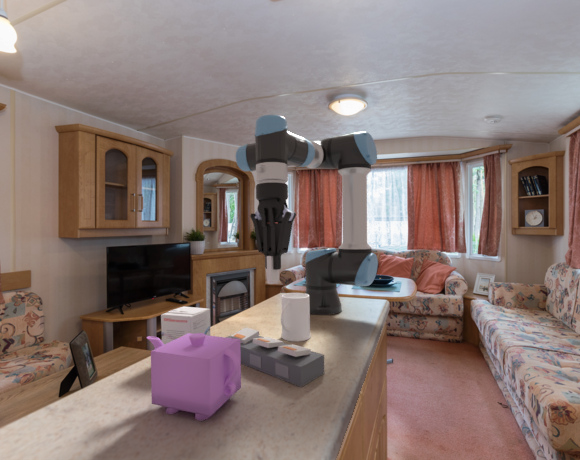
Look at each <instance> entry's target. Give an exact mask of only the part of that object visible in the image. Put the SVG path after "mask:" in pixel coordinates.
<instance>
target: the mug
mask: <svg viewBox="0 0 580 460" xmlns="http://www.w3.org/2000/svg"><path fill="white" fill-rule="evenodd" d="M310 315H311V314H310V303H309V294H306V293H305V292H287V293H284V294H281V314H280V324H281V338H282V339H283V340H284V341H288V342H304V341H307V340H309V339H310V338H311V336H312V334H311V318H310V317H311V316H310Z"/></svg>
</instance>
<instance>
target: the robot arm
mask: <svg viewBox="0 0 580 460" xmlns="http://www.w3.org/2000/svg"><path fill="white" fill-rule="evenodd" d="M288 128H289V126H288V122H287V119H286V117H284V116H282V115H278V114H265V115H262V116H259V117H258V118H257V119H256V120H255V132H254V133H255V134H254V137H255V138H254V139H255V140H254V141H255V142H254V143H247V144H245V145H241V146H239V147H238V148H237V149H236V151H235V162H236V165H237V167H238V168H239V169H240V170H241V171H243V172H255V181H256V186H255V198H256V200H257V201H258V206H257V211H255V212H254V213H250V219H251V221H252V223H253V227H254V228H253V229H254V233H255V235H254V236H255V239H256V246H257V250H258V251H257V252H258V253H261V254H263V255H264V264H265V265H264V267H265V269H266V284H268V285H274V284H279V283H280V270H281V269H282V255H284V254H287V253H288V251H289V247H290V240H291V236H292V228H293V223H294V221H295V219H296V216H297V213H296V211H291V210H290V209H289V208H288V207H289V206H288V204H287V200H288V198H289V186H288V184H287V182H288V181H289V175H288V171H289V170H288V168H299V167H301V168H308V169H312V170H313V169H324V170H337V173H338V174H339V175H340V176H341V179H342V180H341V181H342V182H341V183H342V186H341V187H342V189H341V190H342V191H341V192H342V193H341V194H342V195H341V196H342V197H341V198H342V204H341V205H342V243H341V244H340V245H339V246H338V251H337V248H335V247H333V248H322V249H316V250H315V249H314V250H310V251H307V252H306V254H305V261H304V265H305V292H304V293H306V294H309V303H310V315H319V316H320V315H323V316H325V315H326V316H327V315H333V314H335V315H336V314H338V313H341V312H342V311H343V310H342V308H343V307H342V303H341V299H340V296H339V292H338V290H337V289H338V286H337V285H345V286H346V285H347V286H356V287H367V286H368V287H369V286H370V285H371V284H373V282H374V280H375V278H376V276H377V272H378V266H379V260H378V256H377V254H375V253H374V252H372V249H373V248H372V246H370V244H369V243H368V194H367V193H368V192H367V190H368V185H367V184H368V182H367V181H368V180H367V179H368V177H367V176H368V175H369V173H370V172H371V171H372V165H373V166H374V165H375V164H376V163H377V160H378V151H377V147H376V143H375V141H374V138H373V136H372V135H371V134H370V133H369V132H368V131H357V132H356V131H355V132H352V133H346V134H341V135H336V136H330V137H326V138H322V139H319V140H313V141H310V140H309V139H306V138H305V137H303V136H300V135H297V134H295V133H292V132H290V131H288Z"/></svg>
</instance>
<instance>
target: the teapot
mask: <svg viewBox="0 0 580 460" xmlns="http://www.w3.org/2000/svg"><path fill="white" fill-rule="evenodd" d="M146 339H147V340H148V341H150V342H151V343H152V345H153V348H154V349H153V350H151V351H150V379H151V380H150V382H151V385H150V387H151V404H152V405H155V406H158V407H159V406H161V407H166V409H165V413H166V414H169V415H173V414H177V413H179V412H180V411H183V412H188V413H190V414H191V413H192V414H194V418H195V420H196V419H197V420H196V421H199V420H200V421H201V420H202V421H206V420H207V419H209V418H210V417H212V416H213V415H214V414H215V413H216V412H217V411H218V410H219V409H220V408H221V407H222V406H223V405H224V404H225V403H227V402H228V401H229V400H230V399H231V398H232V397H233V396H234V395H235V394H236V393H237V392H238V391H239V390H240V389H242V371H241V370H242V366H241V365H242V364H241V350H240V339H233V338H225V337H224V336H215V335H210V336H208V335H205V334H203V333H195V334H191V333H188V334H186V335H184V336H181V337H179V338H177V339H175V340H173V341H171V342H169V343H167V344H165V345H164V344H163V342H162V339H160V338H159V337H157V336H153V335H151V336H150V335H149V336H146ZM205 419H206V420H205Z"/></svg>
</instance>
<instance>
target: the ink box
mask: <svg viewBox="0 0 580 460" xmlns="http://www.w3.org/2000/svg"><path fill="white" fill-rule="evenodd" d="M160 327H161V331H160V332H161V341H162V342H163V344H164V345H165V344H167V343H169V342H171V341H173V340H175V339H177V338H179V337H181V336H184V335H186V334H188V333H191V334H195V333H203V334H205V335H208V336H211V308H205V307H196V306H195V307H193V306H180V307H177V308H174V309H171V310H169V311H167V312H165V313H161V315H160Z"/></svg>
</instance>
